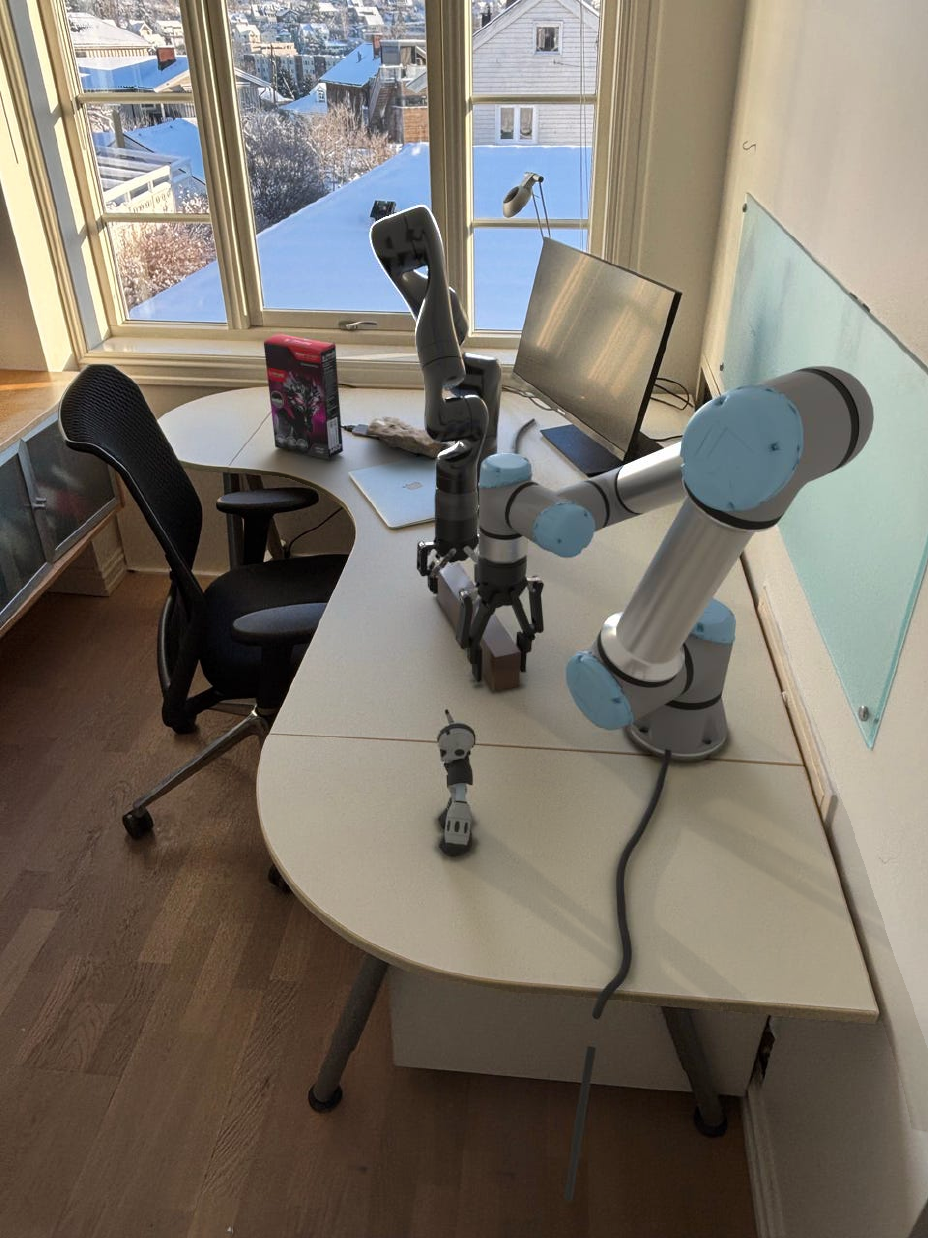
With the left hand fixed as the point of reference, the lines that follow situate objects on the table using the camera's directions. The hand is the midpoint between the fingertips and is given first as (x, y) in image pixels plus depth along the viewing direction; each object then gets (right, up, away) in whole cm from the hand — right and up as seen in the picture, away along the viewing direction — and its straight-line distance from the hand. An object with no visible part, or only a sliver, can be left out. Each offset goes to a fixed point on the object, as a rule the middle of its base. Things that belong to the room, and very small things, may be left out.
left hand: (456, 587), depth 169 cm
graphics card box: (-37, +36, +61) cm, 81 cm away
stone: (-14, +38, +64) cm, 76 cm away
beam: (+3, -9, -6) cm, 12 cm away
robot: (0, -35, -44) cm, 56 cm away
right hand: (+7, -15, -15) cm, 22 cm away
